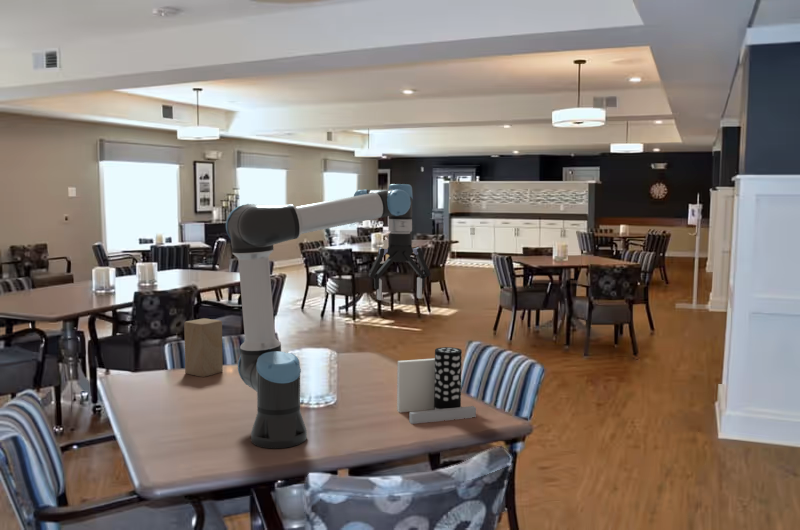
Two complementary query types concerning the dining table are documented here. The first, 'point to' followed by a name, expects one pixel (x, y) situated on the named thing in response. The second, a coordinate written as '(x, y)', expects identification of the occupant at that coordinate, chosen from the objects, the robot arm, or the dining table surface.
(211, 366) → the wooden block
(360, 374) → the dining table surface
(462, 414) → the cleat board
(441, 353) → the white-spotted black cylinder
